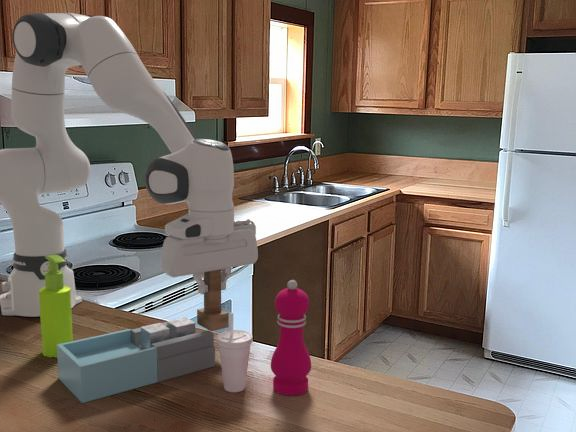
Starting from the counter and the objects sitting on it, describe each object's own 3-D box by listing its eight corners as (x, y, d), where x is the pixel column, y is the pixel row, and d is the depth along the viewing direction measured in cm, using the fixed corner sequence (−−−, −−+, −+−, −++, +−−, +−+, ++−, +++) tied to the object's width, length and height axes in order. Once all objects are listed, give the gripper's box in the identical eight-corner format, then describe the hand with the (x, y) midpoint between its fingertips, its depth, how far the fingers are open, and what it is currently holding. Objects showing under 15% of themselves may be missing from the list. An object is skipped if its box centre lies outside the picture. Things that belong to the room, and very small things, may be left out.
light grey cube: (141, 346, 121) (140, 326, 120) (160, 342, 123) (159, 322, 122) (150, 353, 117) (150, 333, 117) (169, 348, 120) (169, 328, 119)
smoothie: (212, 383, 115) (211, 309, 112) (245, 377, 117) (245, 305, 115) (222, 398, 109) (222, 320, 106) (257, 392, 111) (258, 316, 109)
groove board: (130, 360, 124) (129, 328, 123) (185, 346, 131) (184, 316, 130) (158, 382, 115) (157, 348, 114) (215, 366, 122) (214, 334, 121)
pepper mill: (307, 399, 109) (309, 287, 105) (266, 394, 110) (267, 284, 107) (313, 381, 116) (316, 276, 112) (275, 377, 117) (276, 273, 114)
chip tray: (58, 378, 116) (56, 344, 114) (130, 360, 124) (129, 328, 123) (81, 403, 106) (80, 366, 105) (157, 382, 115) (156, 348, 114)
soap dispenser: (51, 361, 123) (45, 261, 119) (38, 351, 128) (32, 254, 124) (80, 354, 127) (75, 257, 123) (66, 344, 132) (61, 250, 128)
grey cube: (167, 340, 124) (167, 321, 123) (185, 336, 126) (185, 317, 126) (177, 346, 121) (176, 327, 120) (195, 342, 123) (195, 322, 122)
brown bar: (197, 323, 128) (196, 266, 126) (214, 319, 131) (213, 263, 128) (211, 331, 124) (210, 271, 122) (228, 327, 126) (228, 268, 124)
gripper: (246, 215, 132) (246, 279, 135) (157, 226, 120) (158, 296, 122) (264, 220, 127) (263, 286, 130) (172, 231, 115) (174, 304, 117)
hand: (212, 291), depth 126 cm, fingers closed on brown bar, 2 cm apart
